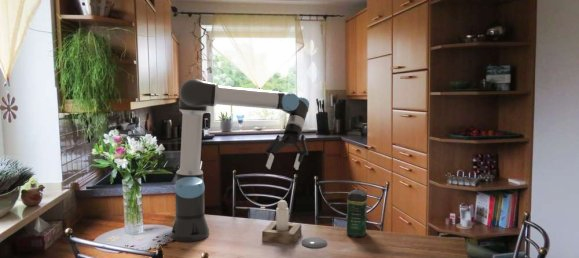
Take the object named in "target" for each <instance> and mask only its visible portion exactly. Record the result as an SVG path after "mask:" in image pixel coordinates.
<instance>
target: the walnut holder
mask: <svg viewBox="0 0 579 258" xmlns="http://www.w3.org/2000/svg"><path fill="white" fill-rule="evenodd" d="M261 233H262V234H261V241H262V242H266V243H267V242H269V243H276V244H277V243H278V244H287V245H294V244H295V243H296V242H297V240H298V239H299V237H300V236H301V235H302V224H301V223H293V222H292V223H290V222H288V231H278V230H276V221H271V222H270V223H269V224H268V225H267V226H266V227H265V228H264V229H263V230H262V232H261Z"/></svg>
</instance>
